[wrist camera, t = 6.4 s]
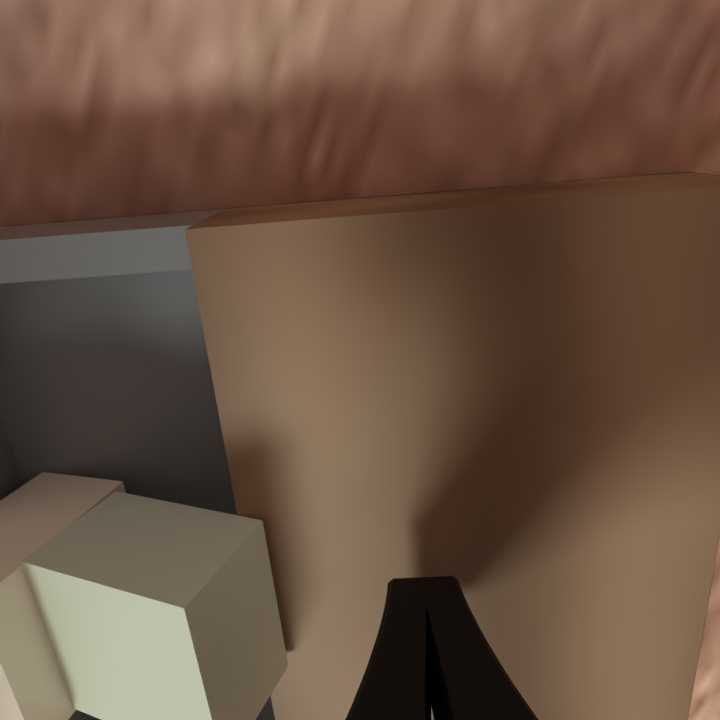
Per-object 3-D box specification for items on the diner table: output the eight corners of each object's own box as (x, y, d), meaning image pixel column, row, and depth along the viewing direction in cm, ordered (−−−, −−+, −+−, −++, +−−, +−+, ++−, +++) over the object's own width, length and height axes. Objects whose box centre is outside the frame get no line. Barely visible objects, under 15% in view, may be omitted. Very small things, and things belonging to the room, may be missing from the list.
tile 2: (158, 610, 15) (83, 594, 16) (122, 481, 14) (42, 471, 15) (38, 755, 12) (-50, 726, 13) (-25, 602, 11) (-120, 582, 11)
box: (92, 729, 19) (53, 813, 17) (-79, 232, 13) (-176, 253, 11) (306, 721, 19) (296, 805, 16) (225, 208, 13) (193, 225, 11)
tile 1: (152, 623, 15) (73, 708, 13) (115, 490, 14) (20, 561, 11) (288, 666, 13) (224, 770, 11) (262, 520, 12) (183, 608, 10)
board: (306, 721, 19) (294, 825, 16) (225, 208, 13) (184, 229, 10) (625, 709, 18) (671, 814, 15) (688, 172, 12) (780, 182, 10)
